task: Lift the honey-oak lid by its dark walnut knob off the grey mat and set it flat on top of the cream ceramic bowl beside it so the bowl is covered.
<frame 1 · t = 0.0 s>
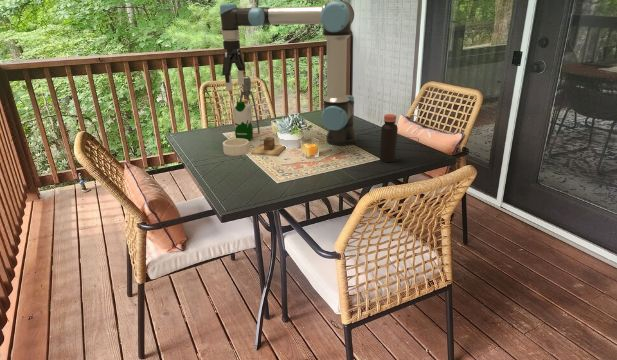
hand: (235, 86, 199), 28 cm above the table, tool pointing down, fingers open, 13 cm apart
bowl: (236, 152, 196), on the table
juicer: (250, 131, 228), on the table
mat: (269, 151, 196), on the table
lid: (269, 150, 196), resting on mat
bottle: (387, 160, 183), on the table
milk carton: (244, 140, 214), on the table
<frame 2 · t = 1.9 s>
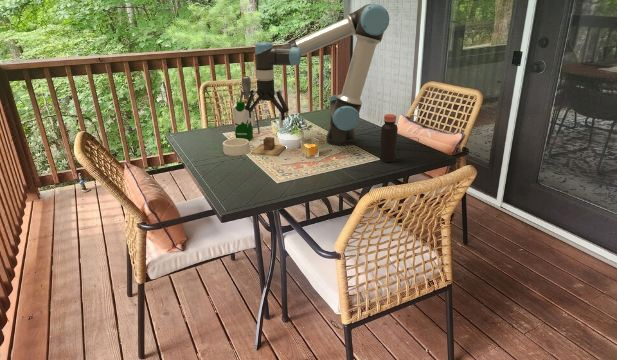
hand: (267, 126, 191), 12 cm above the table, tool pointing down, fingers open, 13 cm apart
nothing on the table moved.
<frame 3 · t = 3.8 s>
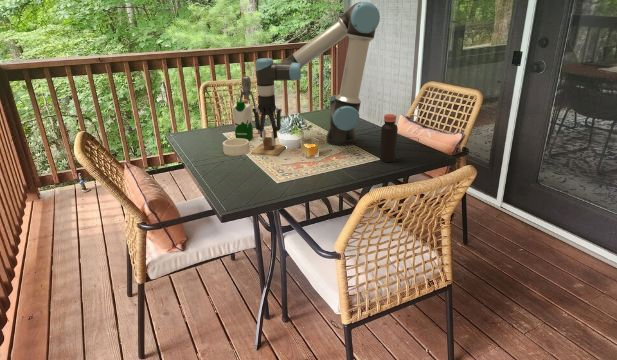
hand: (269, 144, 195), 4 cm above the table, tool pointing down, fingers closed on lid, 4 cm apart
lid: (269, 150, 196), resting on mat, touching gripper
everything else where it was.
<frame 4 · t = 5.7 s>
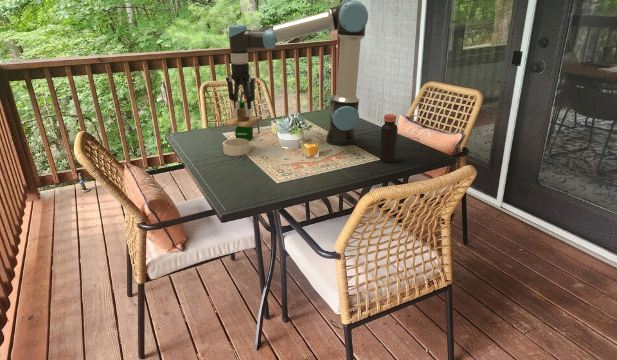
hand: (243, 115, 189), 18 cm above the table, tool pointing down, fingers closed on lid, 4 cm apart
lid: (243, 122, 191), point 14 cm above the table, touching gripper
everything else where it was.
when the fingers open (10 cm above the table, at t = 8.0 s): lid drops 1 cm, resting on bowl.
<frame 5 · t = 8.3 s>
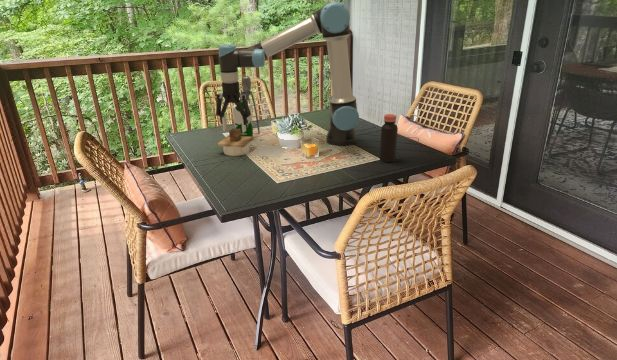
hand: (234, 131, 192), 10 cm above the table, tool pointing down, fingers open, 9 cm apart
bowl: (236, 152, 196), on the table, touching lid
lid: (235, 142, 194), point 5 cm above the table, touching bowl
everything else where it was.
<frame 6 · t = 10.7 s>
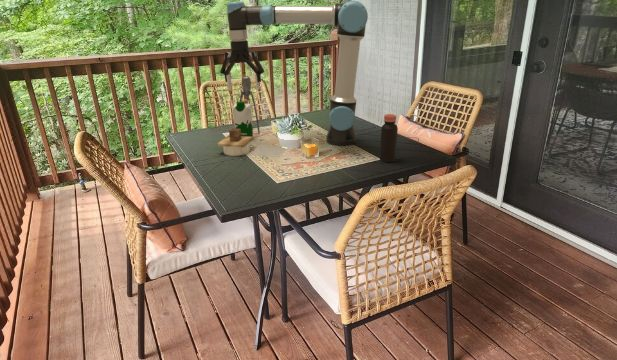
hand: (243, 89, 189), 29 cm above the table, tool pointing down, fingers open, 13 cm apart
nothing on the table moved.
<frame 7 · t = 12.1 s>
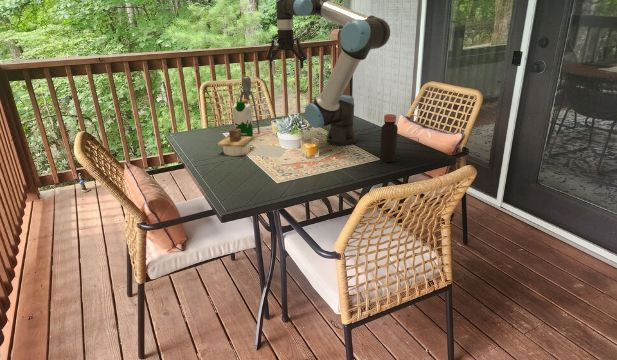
hand: (287, 74, 205), 32 cm above the table, tool pointing down, fingers open, 13 cm apart
nothing on the table moved.
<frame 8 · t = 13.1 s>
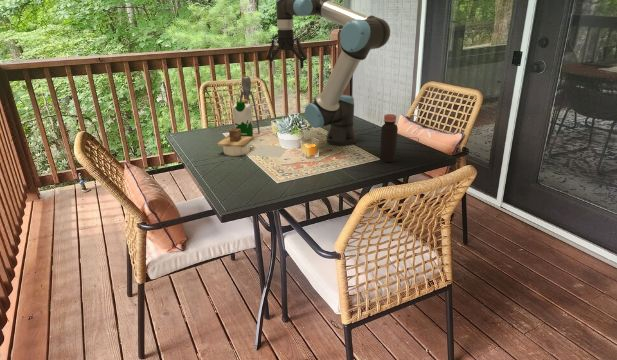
hand: (287, 74, 206), 32 cm above the table, tool pointing down, fingers open, 13 cm apart
nothing on the table moved.
at the end: lid 0.0 cm from the bowl (horizontally); lid point 5.0 cm above the table; lid tilted 0° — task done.
